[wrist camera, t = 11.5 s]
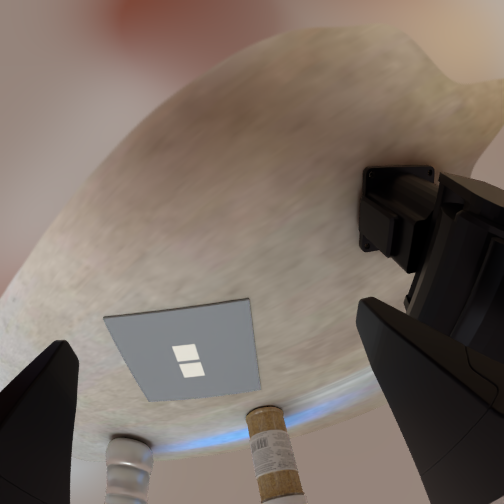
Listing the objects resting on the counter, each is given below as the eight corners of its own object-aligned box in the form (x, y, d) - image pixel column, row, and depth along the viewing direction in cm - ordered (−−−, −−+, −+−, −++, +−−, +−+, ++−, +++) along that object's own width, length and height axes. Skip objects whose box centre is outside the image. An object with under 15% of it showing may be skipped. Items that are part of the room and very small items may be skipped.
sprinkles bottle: (256, 427, 32) (275, 521, 21) (237, 414, 30) (254, 519, 18) (289, 414, 32) (316, 511, 20) (273, 400, 30) (300, 509, 18)
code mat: (248, 298, 22) (249, 300, 22) (260, 388, 28) (260, 389, 28) (103, 317, 21) (102, 318, 21) (149, 400, 27) (148, 401, 27)
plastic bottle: (148, 454, 34) (150, 570, 17) (105, 443, 32) (97, 561, 14) (159, 440, 32) (162, 573, 14) (110, 427, 30) (101, 564, 12)
